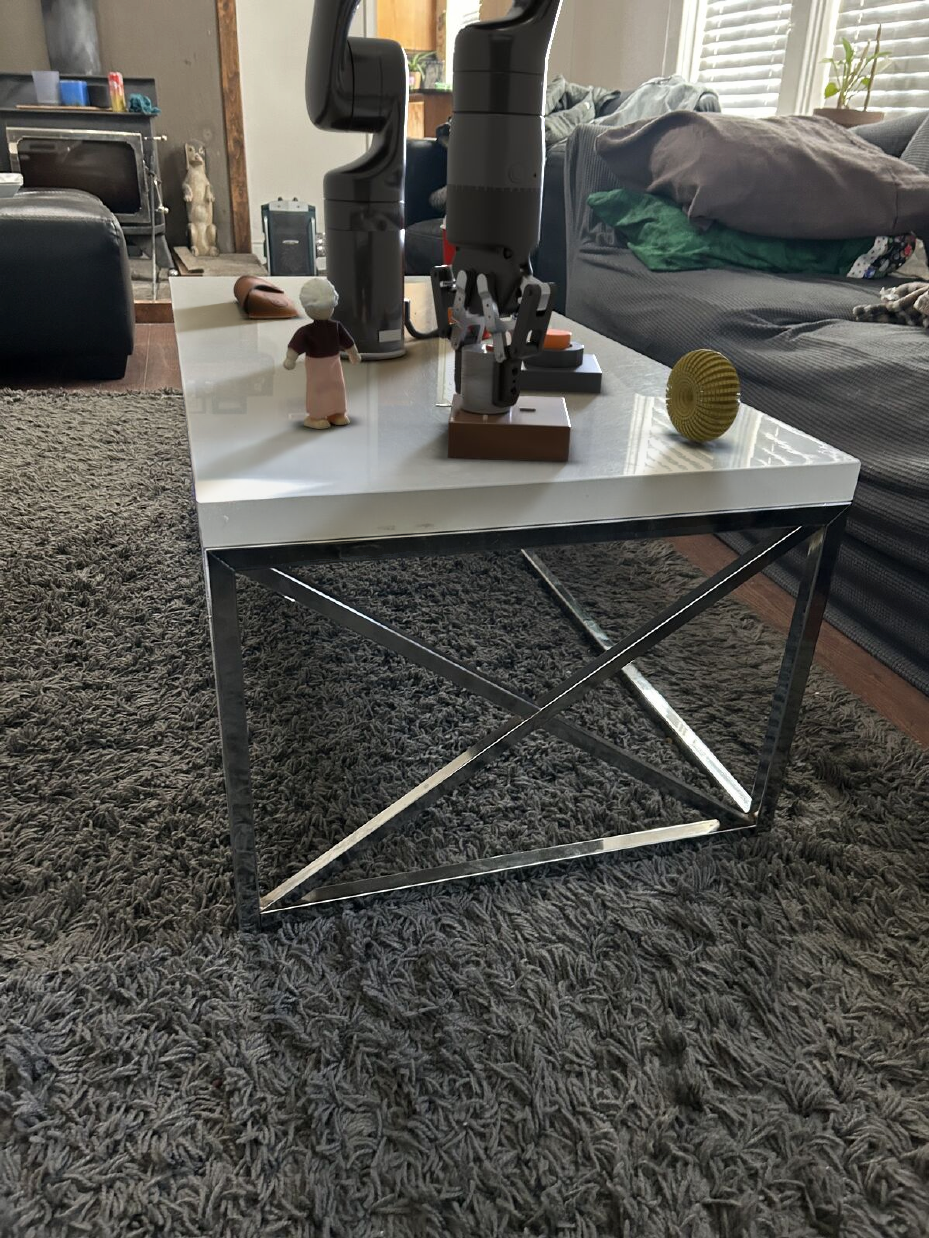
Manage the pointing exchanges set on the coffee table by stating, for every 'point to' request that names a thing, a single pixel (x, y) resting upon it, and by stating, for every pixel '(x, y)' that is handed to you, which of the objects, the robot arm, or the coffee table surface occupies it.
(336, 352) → the grandmother figurine
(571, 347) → the button box
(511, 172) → the robot arm
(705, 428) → the sculpture
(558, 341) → the button
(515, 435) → the panel
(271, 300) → the sunglasses case
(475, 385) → the lock knob
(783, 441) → the coffee table surface
